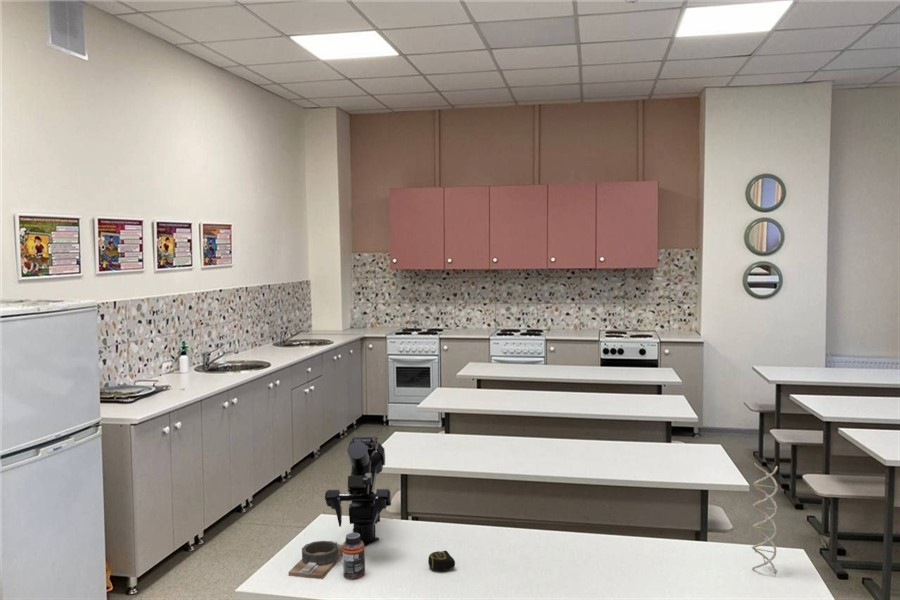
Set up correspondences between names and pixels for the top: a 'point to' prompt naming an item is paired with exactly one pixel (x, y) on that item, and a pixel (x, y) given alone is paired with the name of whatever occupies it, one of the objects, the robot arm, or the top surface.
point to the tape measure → (441, 561)
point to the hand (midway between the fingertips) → (356, 526)
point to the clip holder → (317, 559)
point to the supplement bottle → (353, 556)
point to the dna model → (766, 518)
